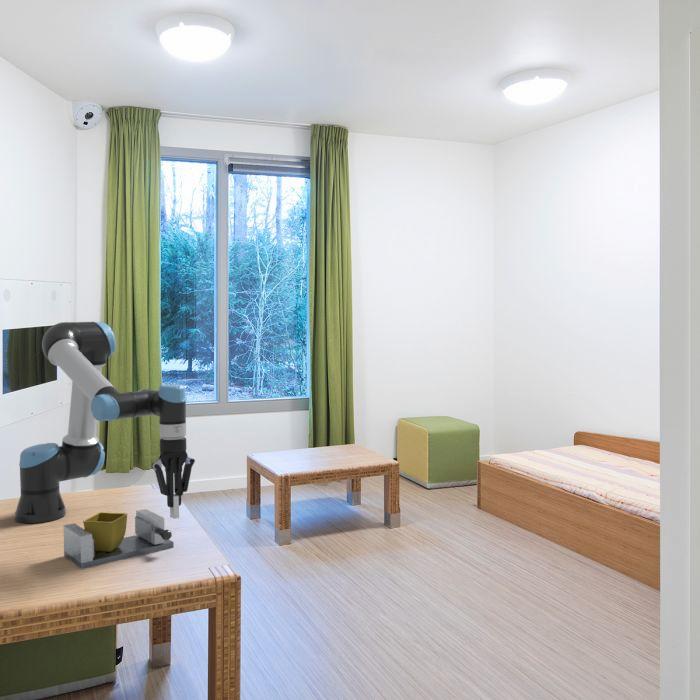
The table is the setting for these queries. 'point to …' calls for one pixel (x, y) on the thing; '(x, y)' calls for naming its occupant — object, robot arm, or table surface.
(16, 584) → the table surface
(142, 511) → the block
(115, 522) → the flower pot
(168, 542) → the vise base
